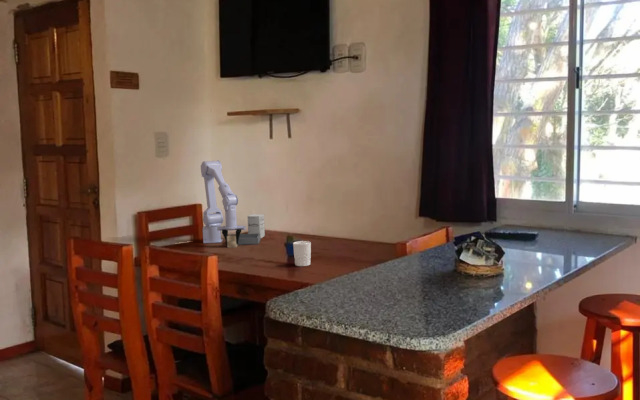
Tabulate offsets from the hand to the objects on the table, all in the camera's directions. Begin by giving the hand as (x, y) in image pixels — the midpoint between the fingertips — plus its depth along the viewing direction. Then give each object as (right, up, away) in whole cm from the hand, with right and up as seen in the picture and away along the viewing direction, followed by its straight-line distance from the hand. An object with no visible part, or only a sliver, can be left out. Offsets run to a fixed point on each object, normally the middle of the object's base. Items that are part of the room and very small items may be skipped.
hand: (232, 244), depth 339 cm
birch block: (0, -1, 0) cm, 1 cm away
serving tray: (+5, 0, +11) cm, 12 cm away
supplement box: (+10, +2, +26) cm, 28 cm away
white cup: (+38, -6, -48) cm, 61 cm away
